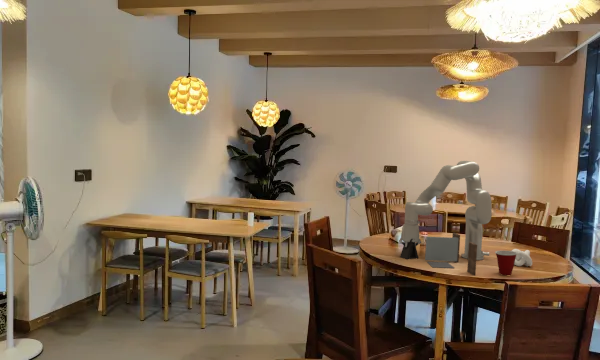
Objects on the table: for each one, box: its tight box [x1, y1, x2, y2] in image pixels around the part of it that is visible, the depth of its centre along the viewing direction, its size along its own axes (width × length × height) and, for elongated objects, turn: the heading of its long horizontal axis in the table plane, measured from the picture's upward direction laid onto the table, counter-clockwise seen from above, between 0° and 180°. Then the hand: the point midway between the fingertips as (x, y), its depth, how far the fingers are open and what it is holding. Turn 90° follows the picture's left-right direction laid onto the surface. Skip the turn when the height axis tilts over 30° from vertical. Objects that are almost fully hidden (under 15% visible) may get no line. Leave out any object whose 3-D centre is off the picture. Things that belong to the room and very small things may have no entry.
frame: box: [451, 232, 477, 276], centre depth 245 cm, size 2×35×16 cm, turn 178°
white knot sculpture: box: [511, 248, 533, 267], centre depth 254 cm, size 11×12×9 cm
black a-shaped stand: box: [399, 239, 419, 260], centre depth 263 cm, size 9×6×12 cm, turn 115°
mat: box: [426, 261, 455, 269], centre depth 247 cm, size 12×12×1 cm
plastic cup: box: [494, 250, 517, 276], centre depth 232 cm, size 11×11×12 cm
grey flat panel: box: [424, 236, 458, 262], centre depth 254 cm, size 2×18×14 cm, turn 88°
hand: (409, 253), depth 263 cm, fingers closed on black a-shaped stand, 3 cm apart
